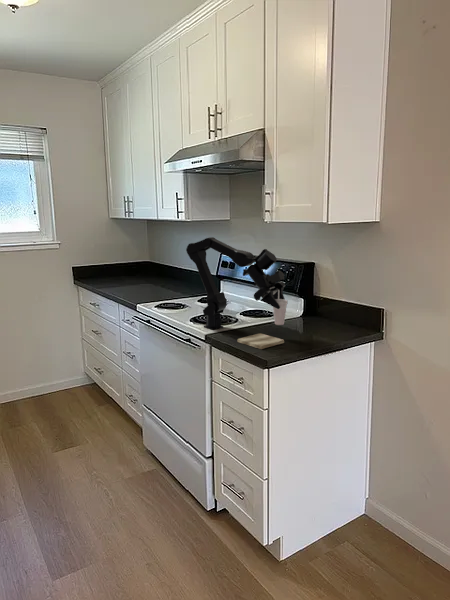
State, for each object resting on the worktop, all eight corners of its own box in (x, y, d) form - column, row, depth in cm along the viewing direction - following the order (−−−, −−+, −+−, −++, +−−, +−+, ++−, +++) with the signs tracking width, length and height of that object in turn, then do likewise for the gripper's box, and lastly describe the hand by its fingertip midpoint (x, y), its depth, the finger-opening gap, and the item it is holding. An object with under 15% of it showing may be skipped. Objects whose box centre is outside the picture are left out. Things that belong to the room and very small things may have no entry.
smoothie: (268, 322, 187) (269, 289, 184) (282, 320, 190) (283, 288, 186) (275, 326, 182) (276, 292, 178) (290, 324, 184) (290, 291, 180)
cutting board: (237, 341, 181) (237, 338, 180) (260, 336, 189) (260, 333, 189) (261, 349, 171) (261, 346, 171) (283, 342, 180) (283, 339, 179)
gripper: (261, 266, 175) (286, 298, 171) (282, 262, 190) (305, 291, 187) (243, 285, 180) (267, 315, 177) (264, 279, 196) (287, 307, 192)
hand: (282, 306), depth 183 cm, fingers closed on smoothie, 6 cm apart
